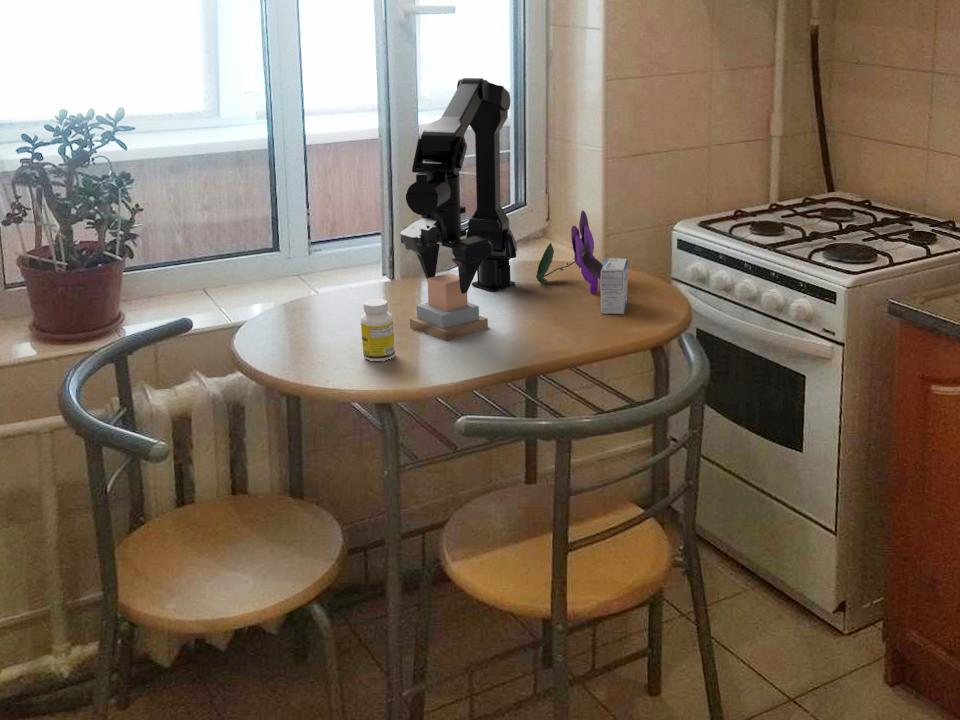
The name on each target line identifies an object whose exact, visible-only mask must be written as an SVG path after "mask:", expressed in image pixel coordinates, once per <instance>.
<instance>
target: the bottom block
mask: <svg viewBox="0 0 960 720" xmlns="http://www.w3.org/2000/svg"><path fill="white" fill-rule="evenodd" d="M488 319H489V318H488V317H485V316H481V315H479V320H475V321H471V322H467V323H464V324H460V325H456V326H453V327H449V328H445V329H442V328H439V327H437V326H434V325H432V324H430V323H427V322H425V321H423V320H420V319H418V318H417V316H415V317H411V318H409V328H410V329H412V330H414V329H415V331H417V330H418V331H417V332H420V331H421V332H420V333H422V332H424V333H423V334H425V333H426V334H425V335H428V334H429V335H428V336H430V335H431V337H432V338H433V337H434V338H437V339H439V340H441V341H445V342H447V341H451V340H453V339H457V338H459V337H463V336H466V335H469V334H472V333H475V332H479V331H481V330H485V329H489V320H488Z"/></svg>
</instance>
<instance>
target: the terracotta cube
mask: <svg viewBox="0 0 960 720" xmlns="http://www.w3.org/2000/svg"><path fill="white" fill-rule="evenodd" d="M426 281H427V296H428V297H427V298H428V299H427V301H428V305H430V306H433V307H436V308H438V309H441V310H444V311H449V310H452V309H455V308H459V307H462V306H465V305H468V302H469V301H468V292H467V293H464V294H462V293H461V289H460V282H459V274H458V275H457V274H455V273H451V272H447V273H441V274H439V275H438V274H437V275H435V277H431V278H427V279H426Z"/></svg>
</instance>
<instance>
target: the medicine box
mask: <svg viewBox="0 0 960 720" xmlns="http://www.w3.org/2000/svg"><path fill="white" fill-rule="evenodd" d="M628 262H629V261H628V258H619V257H617V258H615V257H614V258H612V257H611V258H605V259H604V261H603V263H602V265H603V267H602V270H601V280H600V314H604V315H605V314H607V315H624V314H625V312H626V309H627V308H626V307H627V304H628V271H629V270H628V268H629V267H628V266H629V263H628Z"/></svg>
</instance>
